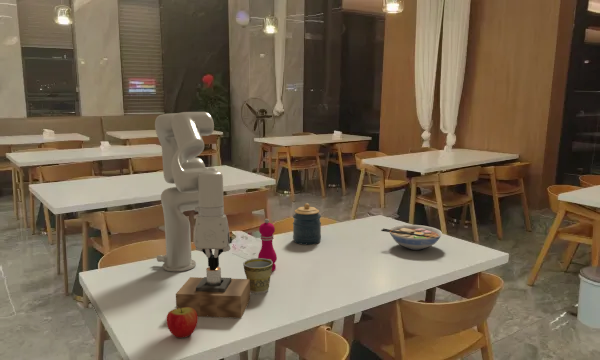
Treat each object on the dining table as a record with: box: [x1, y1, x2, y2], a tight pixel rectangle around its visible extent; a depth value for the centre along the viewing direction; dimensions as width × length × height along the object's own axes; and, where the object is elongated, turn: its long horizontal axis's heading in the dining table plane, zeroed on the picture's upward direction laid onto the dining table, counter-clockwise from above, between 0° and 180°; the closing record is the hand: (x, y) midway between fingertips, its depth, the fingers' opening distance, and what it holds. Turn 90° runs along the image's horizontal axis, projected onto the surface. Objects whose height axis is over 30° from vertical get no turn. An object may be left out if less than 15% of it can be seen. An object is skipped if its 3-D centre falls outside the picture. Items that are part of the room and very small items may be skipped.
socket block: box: [175, 276, 251, 319], centre depth 156 cm, size 20×14×8 cm
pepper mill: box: [257, 218, 278, 272], centre depth 190 cm, size 7×7×20 cm
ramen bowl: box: [380, 224, 443, 251], centre depth 217 cm, size 25×23×8 cm
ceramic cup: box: [242, 257, 273, 295], centre depth 171 cm, size 13×10×10 cm
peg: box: [205, 266, 222, 286], centre depth 156 cm, size 4×4×8 cm
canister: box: [292, 203, 322, 246], centre depth 227 cm, size 13×13×18 cm
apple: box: [166, 304, 199, 339], centre depth 138 cm, size 8×8×10 cm
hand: (213, 268), depth 155 cm, fingers closed
